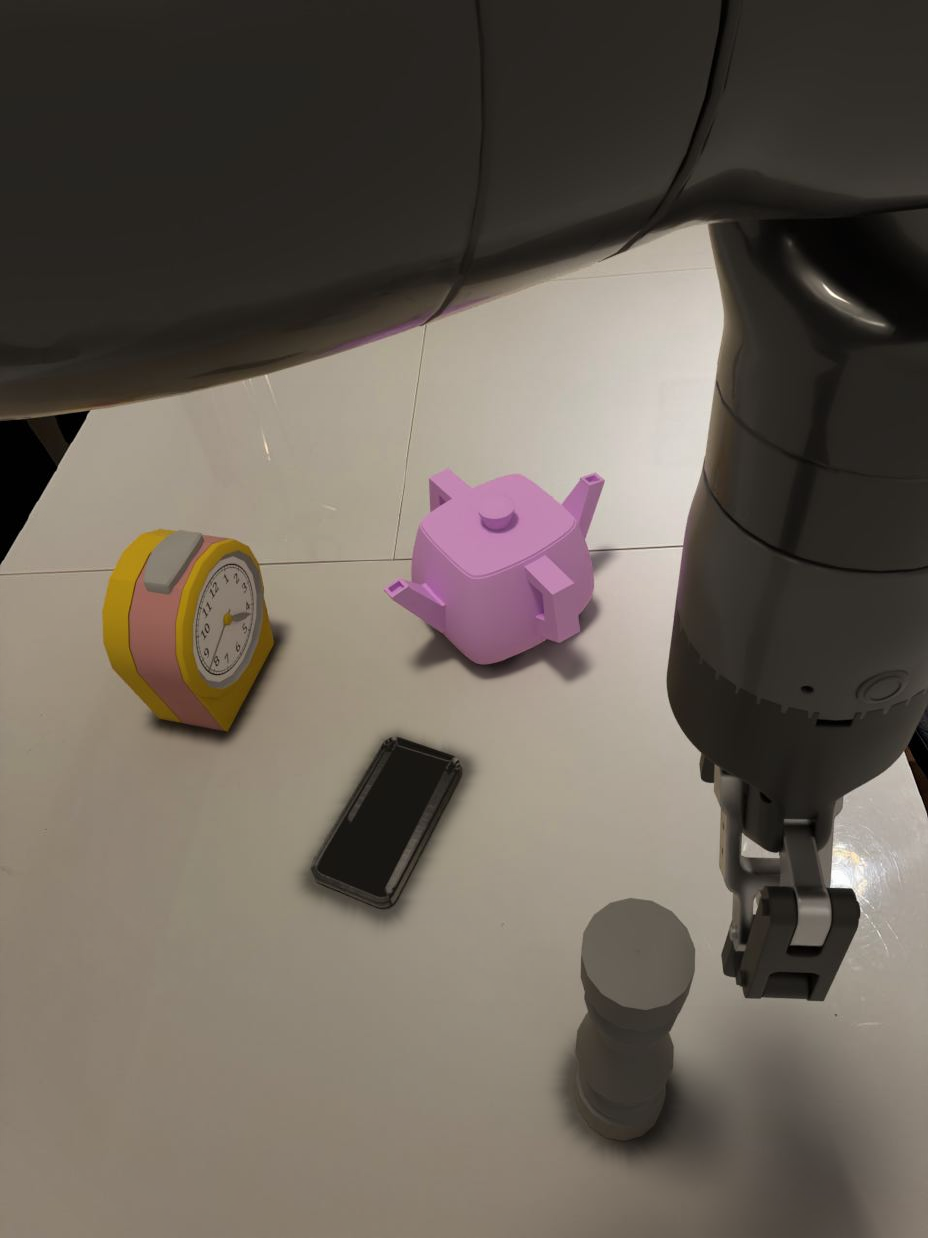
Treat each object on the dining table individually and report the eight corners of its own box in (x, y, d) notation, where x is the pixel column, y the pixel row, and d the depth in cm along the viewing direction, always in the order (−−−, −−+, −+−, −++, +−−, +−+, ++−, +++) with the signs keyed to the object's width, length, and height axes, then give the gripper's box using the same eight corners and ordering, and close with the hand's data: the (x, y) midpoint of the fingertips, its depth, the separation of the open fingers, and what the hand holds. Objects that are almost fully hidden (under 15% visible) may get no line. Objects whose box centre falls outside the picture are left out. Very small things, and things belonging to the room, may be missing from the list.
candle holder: (669, 1139, 62) (712, 1013, 44) (578, 1142, 63) (581, 1018, 44) (656, 1043, 66) (689, 890, 48) (570, 1047, 67) (570, 896, 48)
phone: (464, 759, 82) (387, 906, 74) (465, 766, 83) (389, 912, 75) (387, 733, 85) (304, 872, 76) (389, 740, 86) (307, 878, 77)
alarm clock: (226, 748, 87) (162, 619, 73) (150, 733, 89) (74, 605, 75) (287, 631, 96) (240, 498, 83) (217, 620, 98) (160, 488, 85)
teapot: (398, 677, 91) (374, 570, 80) (429, 549, 103) (412, 440, 92) (593, 689, 88) (596, 580, 77) (602, 556, 100) (606, 445, 89)
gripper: (660, 445, 31) (634, 723, 43) (703, 822, 21) (655, 1044, 34) (892, 439, 30) (800, 725, 42) (1043, 829, 21) (869, 1054, 33)
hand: (736, 866), depth 38 cm, fingers open, 8 cm apart
